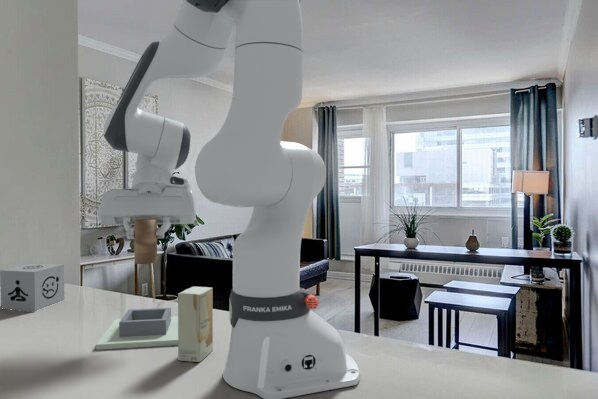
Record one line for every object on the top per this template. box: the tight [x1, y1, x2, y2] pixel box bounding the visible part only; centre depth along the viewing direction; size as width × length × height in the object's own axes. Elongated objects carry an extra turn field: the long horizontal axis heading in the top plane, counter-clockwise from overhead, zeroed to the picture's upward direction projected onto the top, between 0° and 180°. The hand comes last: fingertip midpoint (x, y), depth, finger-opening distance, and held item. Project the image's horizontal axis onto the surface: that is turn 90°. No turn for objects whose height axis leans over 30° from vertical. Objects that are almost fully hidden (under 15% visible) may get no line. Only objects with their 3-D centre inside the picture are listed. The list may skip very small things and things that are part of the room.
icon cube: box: [0, 262, 66, 312], centre depth 114 cm, size 10×10×10 cm
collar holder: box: [95, 307, 178, 351], centre depth 93 cm, size 16×16×4 cm
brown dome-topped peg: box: [133, 219, 158, 265], centre depth 92 cm, size 4×4×9 cm
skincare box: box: [177, 286, 214, 363], centre depth 81 cm, size 6×4×12 cm
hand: (145, 237), depth 91 cm, fingers closed on brown dome-topped peg, 4 cm apart
